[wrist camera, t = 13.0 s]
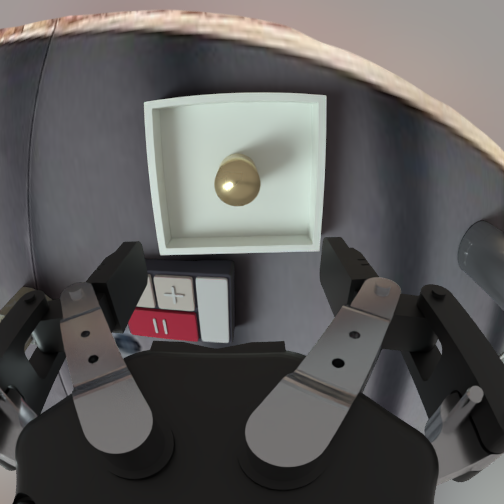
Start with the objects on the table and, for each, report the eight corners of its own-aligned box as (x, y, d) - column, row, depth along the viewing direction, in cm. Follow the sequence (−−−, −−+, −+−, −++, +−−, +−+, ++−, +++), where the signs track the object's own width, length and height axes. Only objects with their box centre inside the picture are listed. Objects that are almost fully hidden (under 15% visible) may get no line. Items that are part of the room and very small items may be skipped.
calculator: (110, 271, 32) (231, 277, 31) (123, 255, 35) (234, 259, 35) (128, 337, 36) (232, 348, 36) (138, 319, 40) (234, 327, 40)
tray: (317, 97, 27) (326, 95, 24) (312, 238, 34) (319, 251, 31) (154, 103, 26) (144, 102, 23) (167, 242, 34) (160, 255, 31)
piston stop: (256, 153, 29) (261, 161, 23) (256, 189, 30) (260, 206, 25) (218, 153, 28) (213, 162, 23) (219, 190, 30) (215, 206, 25)
